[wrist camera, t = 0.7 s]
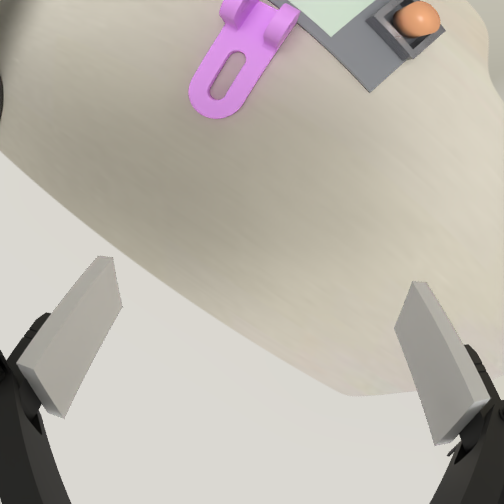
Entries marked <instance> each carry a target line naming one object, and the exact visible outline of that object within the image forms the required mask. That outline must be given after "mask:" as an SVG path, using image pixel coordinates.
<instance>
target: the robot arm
mask: <svg viewBox="0 0 504 504" xmlns="http://www.w3.org/2000/svg"><path fill="white" fill-rule="evenodd" d="M2 100H3V94H2V83H1V78H0V117H1V111H2ZM121 309H122V302H121V298H120V293H119V288H118V283H117V278H116V272H115V267H114V262H113V257H105V256H98V257H97V258H96V259H95V260H94V261H93V263H92V264H91V265H90V266H89V267H88V268H87V270H86V271H85V272H84V273H83V274H82V276H81V277H80V278H79V279H78V280H77V282H76V283H75V284H74V285H73V287H72V288H71V289H70V290H69V292H68V293H67V294H66V295H65V297H64V298H63V299H62V300H61V302H60V303H59V304H58V306H57V307H56V308H55V310H54V311H53V312H52V313H45V314H43V315H42V316H41V317H39V318H38V319H36V320H35V322H34V323H33V325H32V326H31V327H30V330H28V331H27V332H26V334H25V335H24V338H22V339H21V341H20V342H19V343H18V345H17V346H16V348H15V349H14V350H13V352H12V353H11V355H10V356H9V358H8V359H7V360H6V359H5V357H4V356H3V354H2V352H1V350H0V498H1V502H2V504H71V502H70V499H69V497H68V495H67V492H66V490H65V487H64V485H63V482H62V480H61V477H60V474H59V472H58V469H57V466H56V463H55V460H54V457H53V454H52V451H51V448H50V445H49V442H48V438H47V435H46V432H45V428H44V424H43V420H42V417H41V414H40V412H39V408H40V406H41V404H42V405H43V406H44V408H45V409H46V411H47V412H48V413H50V414H53V415H56V416H58V417H61V418H65V416H66V414H67V412H68V409H69V407H70V405H71V403H72V401H73V399H74V397H75V395H76V393H77V391H78V389H79V387H80V385H81V383H82V381H83V379H84V377H85V375H86V373H87V371H88V369H89V367H90V365H91V363H92V361H93V360H94V358H95V356H96V354H97V352H98V350H99V348H100V346H101V345H102V343H103V341H104V339H105V337H106V335H107V334H108V331H109V330H110V328H111V326H112V325H113V323H114V321H115V319H116V317H117V316H118V314H119V312H120V310H121ZM394 329H395V332H396V334H397V337H398V339H399V342H400V345H401V347H402V350H403V352H404V355H405V358H406V360H407V363H408V366H409V369H410V371H411V374H412V377H413V380H414V382H415V385H416V388H417V391H418V394H419V397H420V400H421V403H422V406H423V409H424V412H425V415H426V419H427V422H428V425H429V428H430V432H431V435H432V438H433V442H434V445H435V446H436V445H441V444H446V443H450V442H451V441H453V440H454V439H455V438H456V437H457V435H458V434H459V435H460V438H461V441H460V442H459V443H458V444H457V445H456V446H455V447H454V448H453V449H452V450H451V451H450V452H449V453H448V455H447V456H450V455H451V454H452V453H453V452H454V454H453V457H452V459H451V461H450V463H449V466H448V468H447V470H446V472H445V474H444V476H443V478H442V481H441V483H440V485H439V487H438V489H437V491H436V493H435V494H434V496H433V498H432V500H431V502H430V504H504V400H501V399H500V397H499V395H498V393H497V391H496V389H495V387H494V385H493V383H492V381H491V379H490V377H489V375H488V373H487V372H486V369H485V367H484V365H482V362H481V360H480V358H479V356H478V354H477V353H476V352H475V351H474V350H473V349H472V348H471V347H470V346H469V345H464V344H463V343H462V341H461V339H460V337H459V335H458V334H457V332H456V330H455V328H454V327H453V325H452V323H451V321H450V320H449V318H448V316H447V315H446V313H445V311H444V310H443V308H442V306H441V305H440V303H439V301H438V300H437V298H436V296H435V295H434V293H433V292H432V290H431V289H430V287H429V285H428V284H427V282H416V281H412V284H411V286H410V289H409V292H408V294H407V297H406V300H405V302H404V305H403V307H402V310H401V313H400V315H399V317H398V320H397V322H396V325H395V327H394Z"/></svg>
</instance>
